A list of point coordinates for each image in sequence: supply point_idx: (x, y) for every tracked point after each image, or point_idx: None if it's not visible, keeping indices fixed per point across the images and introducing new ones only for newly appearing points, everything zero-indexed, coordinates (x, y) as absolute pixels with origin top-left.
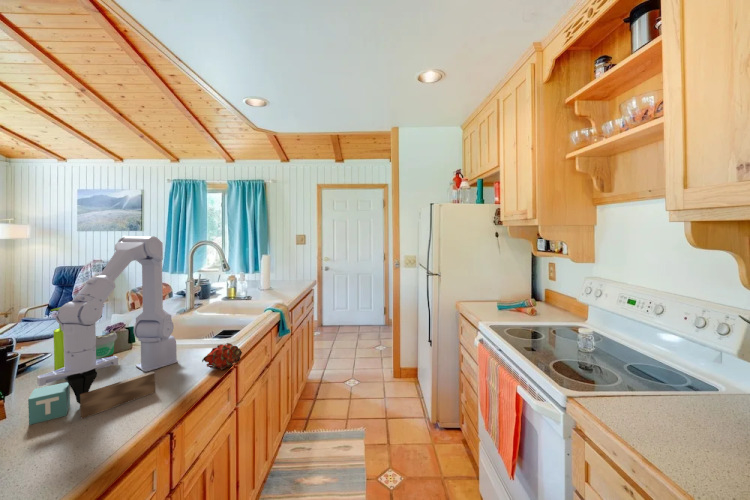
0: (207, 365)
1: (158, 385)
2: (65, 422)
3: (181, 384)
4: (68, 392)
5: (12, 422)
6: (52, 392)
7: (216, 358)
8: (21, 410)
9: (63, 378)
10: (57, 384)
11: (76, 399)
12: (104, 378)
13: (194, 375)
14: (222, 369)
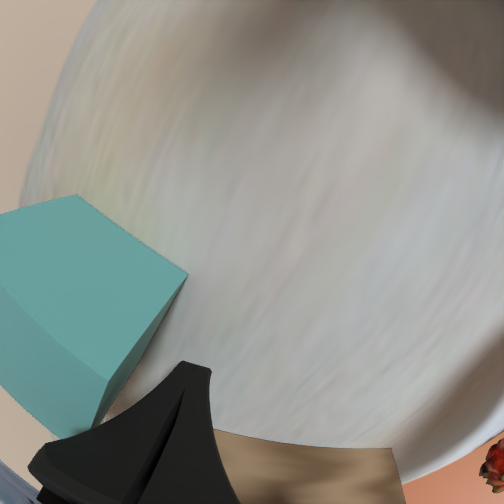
0: (500, 447)
1: (429, 429)
2: (124, 397)
3: (426, 460)
4: (123, 372)
5: (26, 205)
6: (30, 404)
7: (499, 471)
8: (70, 96)
9: (38, 492)
10: (34, 329)
11: (175, 369)
12: (483, 103)
13: (478, 435)
14: (489, 449)
